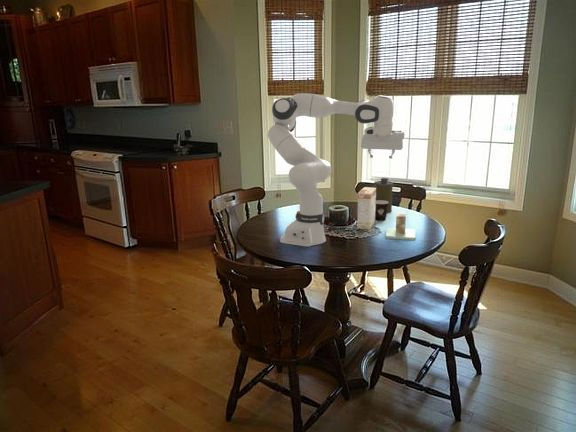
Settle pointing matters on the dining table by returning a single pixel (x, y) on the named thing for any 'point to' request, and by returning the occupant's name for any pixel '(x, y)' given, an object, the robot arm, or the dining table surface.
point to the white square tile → (407, 236)
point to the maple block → (400, 223)
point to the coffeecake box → (366, 208)
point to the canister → (384, 191)
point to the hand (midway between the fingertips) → (380, 157)
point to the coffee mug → (381, 210)
